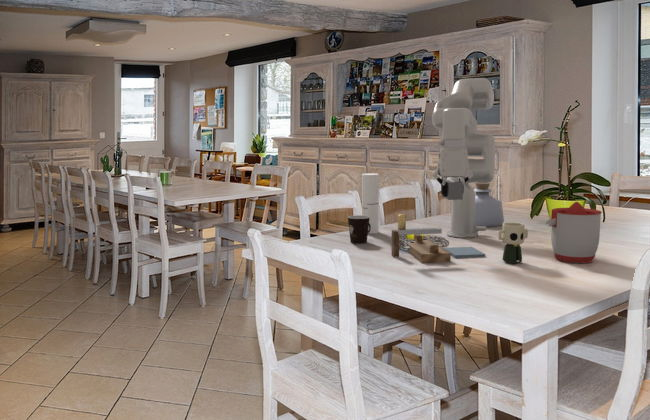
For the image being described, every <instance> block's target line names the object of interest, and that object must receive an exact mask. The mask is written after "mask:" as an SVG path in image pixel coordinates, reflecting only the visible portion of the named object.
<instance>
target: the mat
mask: <svg viewBox="0 0 650 420" xmlns="http://www.w3.org/2000/svg"><path fill="white" fill-rule="evenodd" d="M442 248H443V249H445V250H446V251H448V252H449V253H451V258H452V257H453V258H454V259H465V258H466V259H467V258H486V253H484V252H482V251H481V250H479V249H477V248H476V247H474V246H459V247H458V246H455V247H442Z"/></svg>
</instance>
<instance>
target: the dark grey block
mask: <svg viewBox="0 0 650 420" xmlns="http://www.w3.org/2000/svg"><path fill="white" fill-rule="evenodd" d="M446 186H447V193H446V197H444V196H442V195H441V197H442V198H444V199H446V200H448V201H452V200H463V182H461V181H458V180H451V179H447V181H446Z"/></svg>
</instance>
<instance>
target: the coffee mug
mask: <svg viewBox="0 0 650 420" xmlns="http://www.w3.org/2000/svg"><path fill="white" fill-rule="evenodd" d="M369 219H370V217H369V216H362V214H360V215H357V214H356V215H349V216H347V222H348V223H347V224H348V231H349V241H350V243H351V244H355V245H356V244H357V245H358V244H359V245H361V244H366V243H368V235H369V234H368V233H369V232H370V229H371V226H370V224H369ZM368 227H369V230H368Z"/></svg>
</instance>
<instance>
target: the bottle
mask: <svg viewBox="0 0 650 420" xmlns="http://www.w3.org/2000/svg"><path fill="white" fill-rule="evenodd" d="M490 185H491V182H488V183H475V186H476V188H473V190H474V191H475V225H477V226H486V228H493V227H500V226H501V225H503V223H505V222H504V221H505V217H504V211H503V201H501V200H500V199H497V198H496V197H493V196H491V194H490V193H491V192H493V190H492V189H491V188H490Z"/></svg>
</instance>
